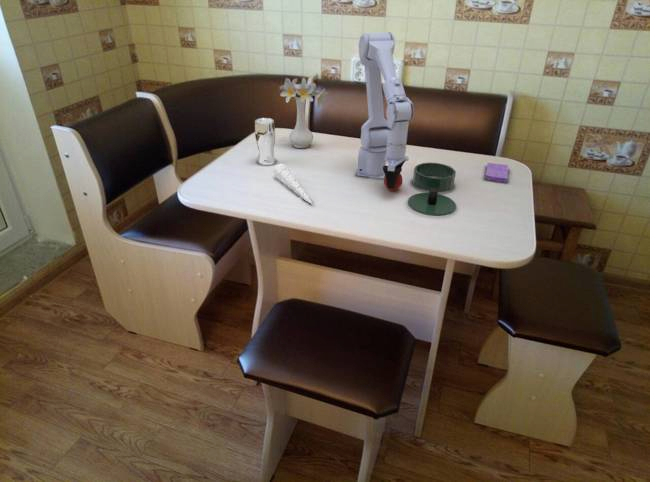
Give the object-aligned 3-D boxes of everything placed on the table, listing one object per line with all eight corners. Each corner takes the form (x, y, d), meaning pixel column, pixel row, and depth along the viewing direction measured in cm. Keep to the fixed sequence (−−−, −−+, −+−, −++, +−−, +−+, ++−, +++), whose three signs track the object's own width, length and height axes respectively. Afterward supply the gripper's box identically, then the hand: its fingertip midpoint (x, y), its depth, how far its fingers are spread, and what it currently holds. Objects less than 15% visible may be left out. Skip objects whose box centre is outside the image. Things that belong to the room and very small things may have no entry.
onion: (400, 196, 141) (403, 172, 137) (382, 194, 142) (384, 170, 138) (401, 188, 146) (404, 165, 142) (383, 186, 147) (385, 163, 142)
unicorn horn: (300, 207, 133) (300, 192, 131) (272, 177, 152) (272, 164, 149) (315, 204, 135) (315, 190, 133) (286, 175, 153) (285, 162, 151)
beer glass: (280, 160, 164) (278, 119, 156) (268, 167, 159) (266, 125, 151) (265, 156, 167) (262, 116, 159) (253, 162, 162) (249, 121, 154)
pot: (410, 190, 144) (412, 175, 142) (415, 174, 155) (417, 160, 153) (451, 196, 141) (454, 181, 139) (454, 179, 152) (456, 165, 149)
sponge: (484, 180, 152) (485, 175, 151) (486, 166, 162) (487, 161, 161) (506, 183, 150) (507, 178, 149) (507, 169, 160) (508, 164, 159)
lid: (404, 213, 131) (406, 196, 129) (410, 193, 143) (412, 177, 140) (454, 220, 128) (457, 204, 125) (456, 199, 140) (459, 183, 137)
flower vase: (321, 154, 170) (321, 85, 157) (275, 148, 174) (272, 81, 161) (330, 142, 181) (331, 77, 168) (287, 137, 185) (285, 73, 172)
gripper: (406, 152, 128) (401, 195, 136) (413, 136, 140) (408, 176, 147) (382, 149, 130) (378, 192, 137) (390, 133, 142) (387, 173, 149)
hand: (392, 183), depth 142 cm, fingers closed on onion, 6 cm apart
